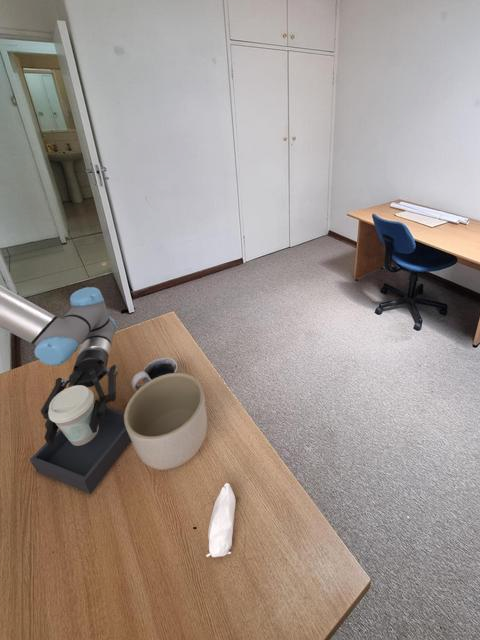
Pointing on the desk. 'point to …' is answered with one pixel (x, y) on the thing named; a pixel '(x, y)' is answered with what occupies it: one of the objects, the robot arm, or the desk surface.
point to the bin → (84, 454)
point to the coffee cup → (74, 413)
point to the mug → (155, 371)
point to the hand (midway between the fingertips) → (71, 434)
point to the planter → (167, 420)
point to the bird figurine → (222, 523)
